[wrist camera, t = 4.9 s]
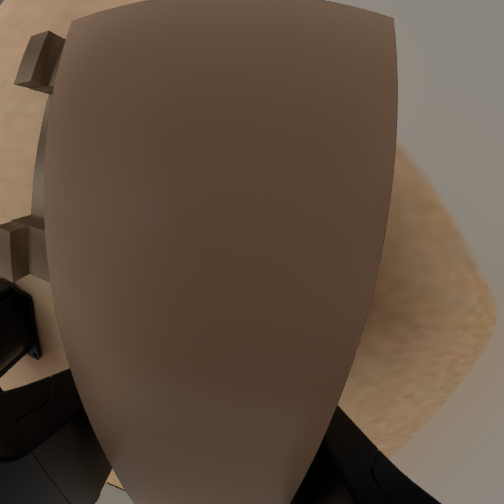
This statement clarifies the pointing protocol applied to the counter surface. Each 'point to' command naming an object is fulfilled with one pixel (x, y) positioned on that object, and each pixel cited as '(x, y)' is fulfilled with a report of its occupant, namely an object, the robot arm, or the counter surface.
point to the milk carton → (113, 496)
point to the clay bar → (217, 232)
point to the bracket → (32, 227)
